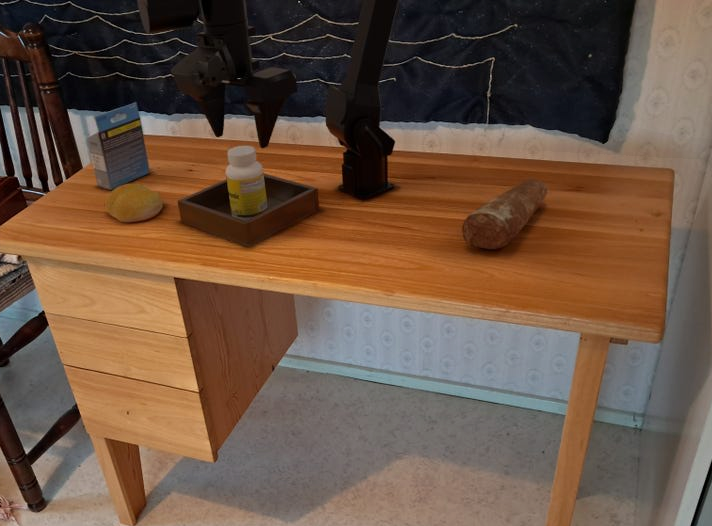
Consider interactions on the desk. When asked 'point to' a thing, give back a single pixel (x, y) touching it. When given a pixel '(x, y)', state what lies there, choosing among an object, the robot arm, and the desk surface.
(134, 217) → the bread roll
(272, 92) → the robot arm
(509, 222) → the salami
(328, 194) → the desk surface
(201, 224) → the tray
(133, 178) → the label tape box
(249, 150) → the supplement bottle
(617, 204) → the desk surface
